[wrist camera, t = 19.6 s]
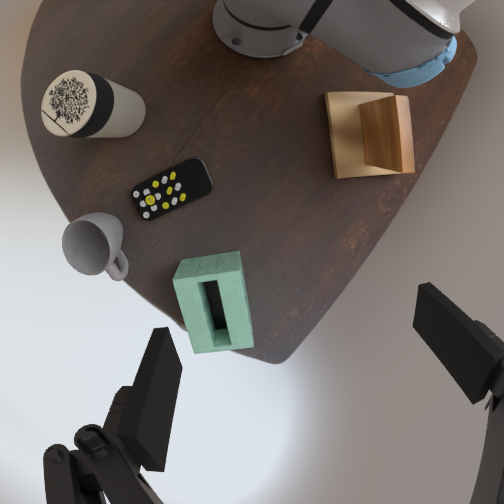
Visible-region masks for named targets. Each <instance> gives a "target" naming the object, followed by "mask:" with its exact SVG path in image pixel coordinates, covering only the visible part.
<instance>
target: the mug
mask: <svg viewBox="0 0 504 504" xmlns="http://www.w3.org/2000/svg"><path fill="white" fill-rule="evenodd" d="M122 240H123V226H122V224H121V222H120V220H119V219H118V218H117V217H115V216H113V215H110V214H107V213H102V212H96V213H90V214H86V215H84V216H81V217H79V218H77V219H75V220H74V221H72V222H71V223H70V224H69V225H68V226H67V227H66V229H65V231H64V234H63V238H62V247H63V252H64V255H65V257H66V259H67V261H68V262H69V264H70V265H71V266H72V267H73V268H74V269H76V270H77V271H78V272H80V273H82V274H86V275H97V274H100V273H101V272H103V271H104V270H106V272H107V273H108V274H109V276H110V277H111V278H112V279H113V280H115V281H121V280H123V279H124V278H125V277H126V276H127V274H128V260H127V258H126V257H125V255H124V253H123V252H122V250H121V249H120V248H121V245H122ZM116 256H117V258H118V260H119V265H120V271H119V270H118V268H117V267H116V265H115V264H114V259H115V258H116Z"/></svg>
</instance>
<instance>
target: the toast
mask: <svg viewBox="0 0 504 504" xmlns="http://www.w3.org/2000/svg"><path fill="white" fill-rule="evenodd" d="M359 110H360V118H361V126H362V135H363V145H364V157H365V165H369V166H373V167H378V168H382V169H387V170H391V171H395V172H399V173H414V172H415V171H414V151H413V138H412V127H411V117H410V109H409V101H408V96H401V95H394V96H389V97H385V98H381V99H377V100H373V101H369V102H366V103H362V104H359Z"/></svg>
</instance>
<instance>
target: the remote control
mask: <svg viewBox="0 0 504 504" xmlns="http://www.w3.org/2000/svg"><path fill="white" fill-rule="evenodd" d="M212 188H213V183H212V180H211V178H210V176H209V174H208V171H207V169H206V167H205V165H204V163H203V161H202V160H201V159H199V158H191V159H189V160H186V161H184V162H182V163H180V164H178V165H176V166H174V167H172V168H170V169H168V170H166V171H164V172H162V173H160V174H158V175H156V176H154V177H152V178H150V179H148V180H146V181H144V182H142V183H140V184H138V185H136V186H135V187H134V188H133V189H132V192H131V196H132V199H133V201H134V203H135V205H136V208H137V210H138V212H139V214H140V216H141V217H142V218H143V219H144V220H146V221H151V220H154V219H156V218H158V217H160V216H162V215H164V214H166V213H168V212H170V211H173V210H175V209H177V208H179V207H181V206H183V205H186V204H188V203H190V202H192V201H194V200H197V199H199V198H201V197H203V196H206V195H208V194H209V193H210V192H211V190H212Z"/></svg>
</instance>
